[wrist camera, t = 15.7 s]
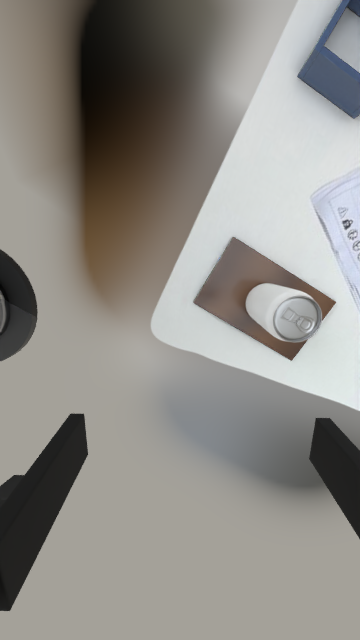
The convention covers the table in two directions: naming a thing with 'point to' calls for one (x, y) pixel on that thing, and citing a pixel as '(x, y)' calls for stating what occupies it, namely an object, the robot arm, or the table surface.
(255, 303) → the can
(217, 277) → the board
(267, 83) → the table surface
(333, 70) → the holder
